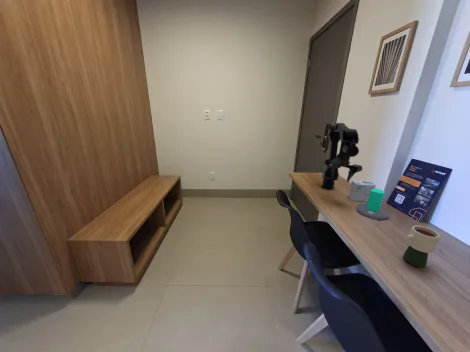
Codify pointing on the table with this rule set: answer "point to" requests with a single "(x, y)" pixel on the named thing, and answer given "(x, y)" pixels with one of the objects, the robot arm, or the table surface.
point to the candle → (375, 200)
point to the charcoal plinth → (365, 212)
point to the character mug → (420, 245)
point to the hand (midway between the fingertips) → (339, 179)
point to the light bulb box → (361, 190)
